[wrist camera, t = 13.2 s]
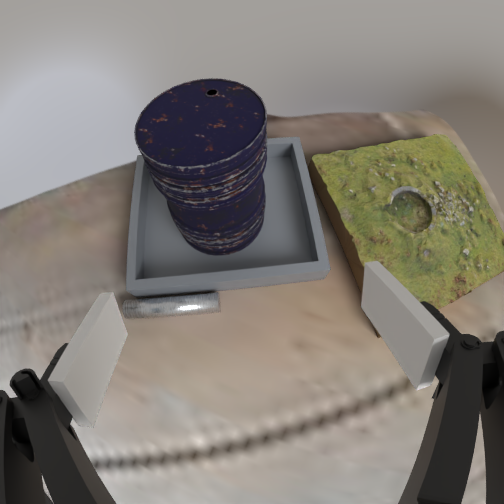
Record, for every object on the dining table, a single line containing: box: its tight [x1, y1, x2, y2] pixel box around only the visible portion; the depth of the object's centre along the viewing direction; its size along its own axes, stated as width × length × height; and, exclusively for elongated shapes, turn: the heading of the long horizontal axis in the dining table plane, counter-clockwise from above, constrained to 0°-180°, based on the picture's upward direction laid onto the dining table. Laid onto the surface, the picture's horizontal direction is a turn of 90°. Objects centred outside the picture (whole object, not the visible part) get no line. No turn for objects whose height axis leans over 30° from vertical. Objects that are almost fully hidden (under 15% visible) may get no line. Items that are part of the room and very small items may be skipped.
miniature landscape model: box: [308, 134, 504, 338], centre depth 32 cm, size 22×24×5 cm
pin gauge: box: [123, 293, 221, 319], centre depth 30 cm, size 10×2×2 cm
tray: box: [126, 137, 331, 298], centre depth 33 cm, size 20×17×3 cm
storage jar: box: [134, 78, 267, 256], centre depth 27 cm, size 10×10×15 cm
